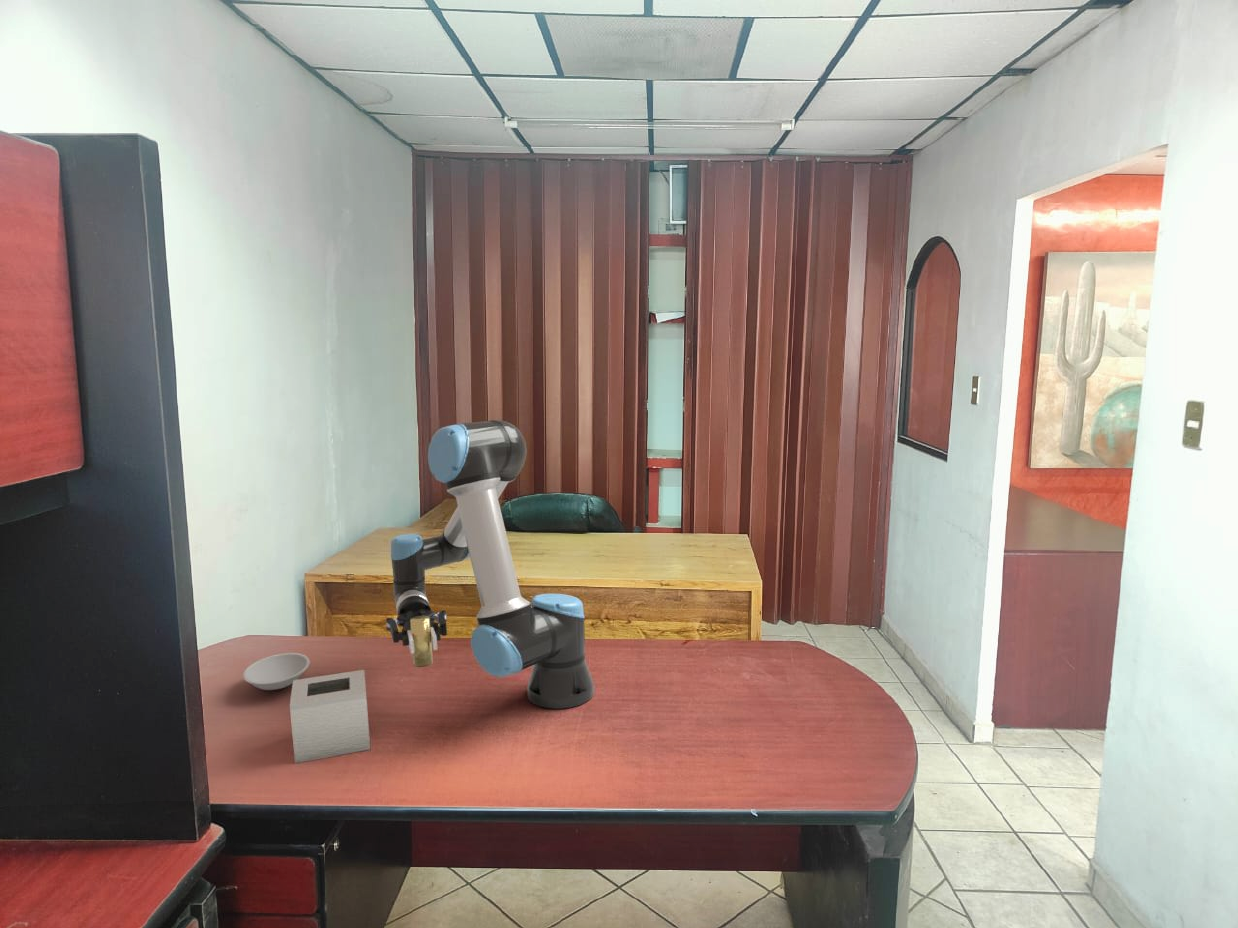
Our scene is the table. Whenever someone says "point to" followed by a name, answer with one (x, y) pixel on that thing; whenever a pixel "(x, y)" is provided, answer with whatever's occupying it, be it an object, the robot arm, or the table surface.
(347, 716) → the grey tissue box
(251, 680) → the dish
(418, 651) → the coin roll
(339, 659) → the table surface
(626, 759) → the table surface
